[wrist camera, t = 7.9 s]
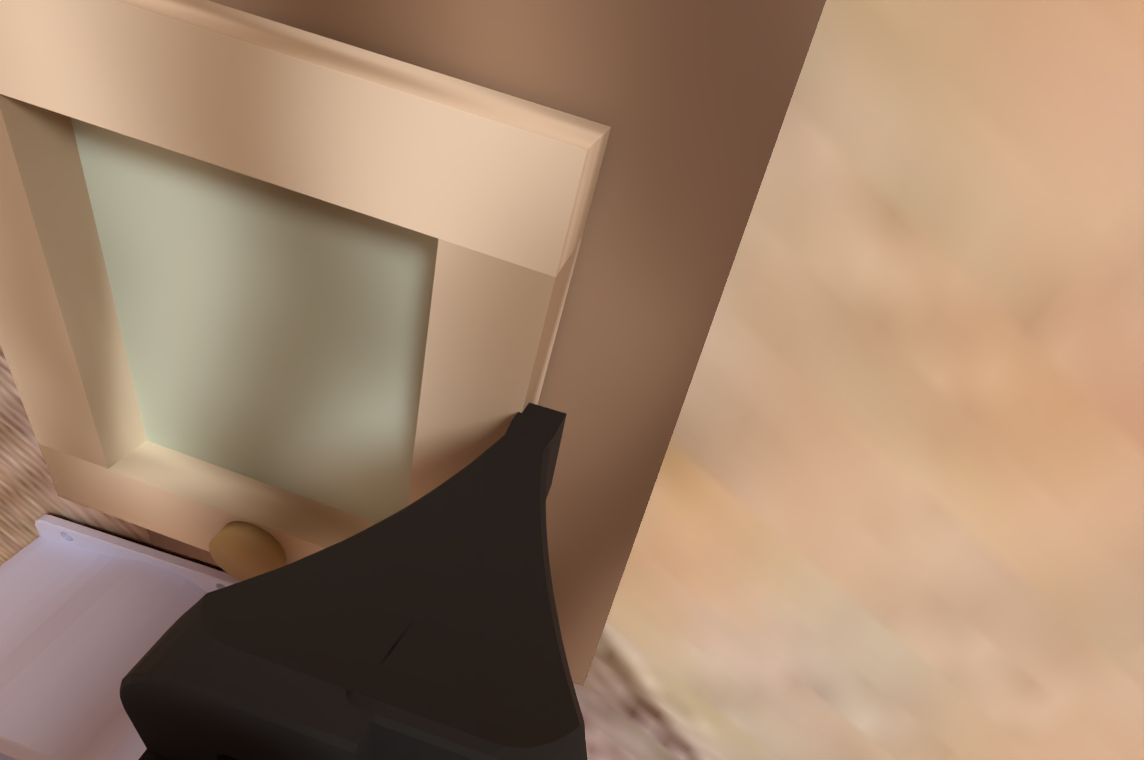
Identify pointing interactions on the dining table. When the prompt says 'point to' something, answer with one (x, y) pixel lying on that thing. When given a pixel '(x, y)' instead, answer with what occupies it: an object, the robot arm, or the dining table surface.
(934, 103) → the dining table surface
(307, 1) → the walnut board
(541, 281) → the cabinet door with knob
